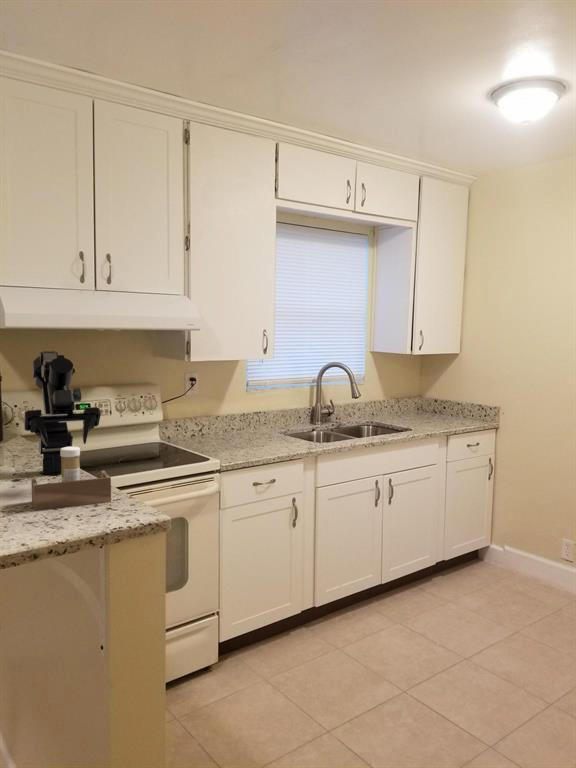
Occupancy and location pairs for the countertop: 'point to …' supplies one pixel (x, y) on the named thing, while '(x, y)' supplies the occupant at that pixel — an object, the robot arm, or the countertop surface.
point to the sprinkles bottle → (70, 464)
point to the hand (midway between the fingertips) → (66, 444)
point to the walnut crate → (71, 492)
